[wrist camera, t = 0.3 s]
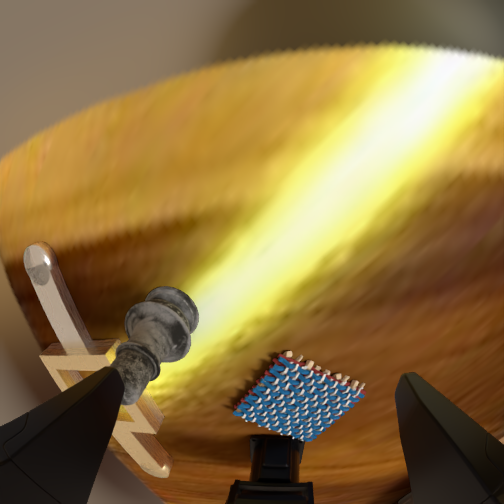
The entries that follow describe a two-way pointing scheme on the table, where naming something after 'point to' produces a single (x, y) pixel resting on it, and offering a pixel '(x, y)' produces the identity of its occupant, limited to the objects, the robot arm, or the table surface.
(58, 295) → the cream handled frame
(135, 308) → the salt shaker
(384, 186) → the table surface
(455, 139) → the table surface
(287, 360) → the woven mat
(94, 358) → the square wooden loop
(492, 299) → the table surface
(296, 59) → the table surface
